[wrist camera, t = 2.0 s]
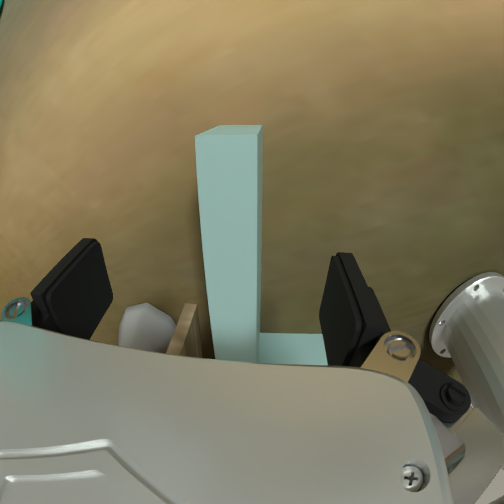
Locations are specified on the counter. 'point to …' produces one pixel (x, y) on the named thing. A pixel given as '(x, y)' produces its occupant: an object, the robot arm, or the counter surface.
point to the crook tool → (239, 250)
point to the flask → (146, 328)
